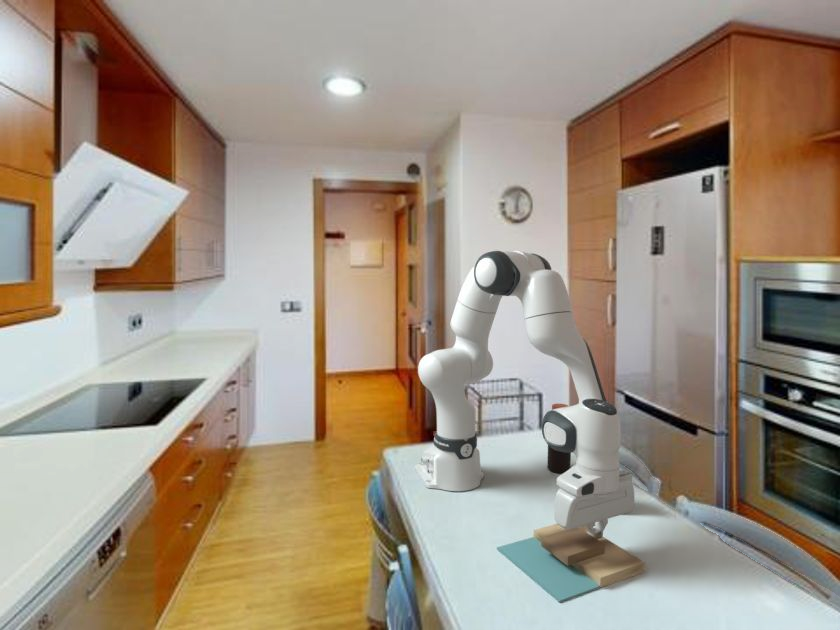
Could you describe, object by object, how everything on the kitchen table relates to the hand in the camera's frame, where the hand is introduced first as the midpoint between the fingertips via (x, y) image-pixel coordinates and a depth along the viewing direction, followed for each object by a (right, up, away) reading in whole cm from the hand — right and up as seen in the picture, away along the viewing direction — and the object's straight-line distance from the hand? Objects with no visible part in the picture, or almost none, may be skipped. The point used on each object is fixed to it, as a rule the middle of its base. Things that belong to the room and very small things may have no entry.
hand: (594, 538), depth 110 cm
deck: (-2, -3, -1) cm, 4 cm away
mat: (-12, -3, -6) cm, 14 cm away
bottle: (+5, +1, +46) cm, 46 cm away
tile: (-6, -1, -3) cm, 7 cm away
